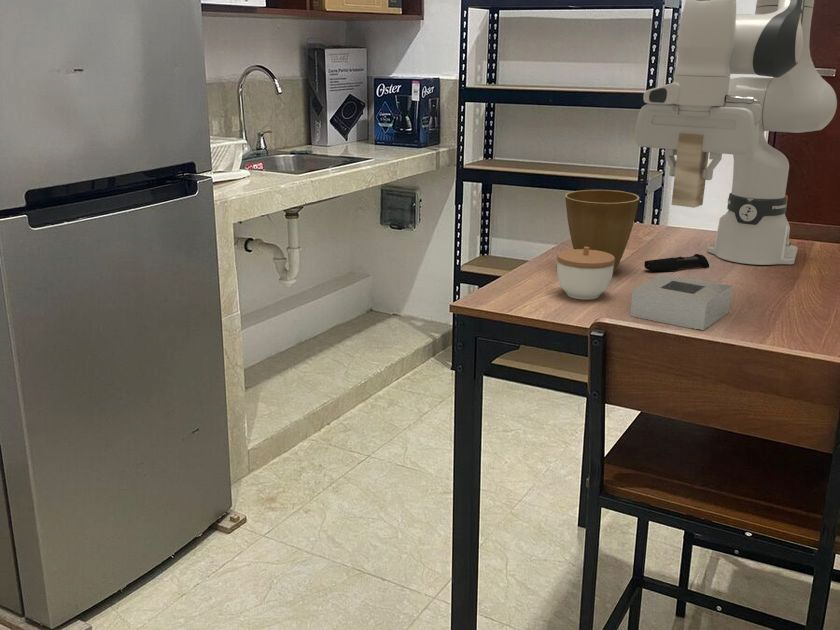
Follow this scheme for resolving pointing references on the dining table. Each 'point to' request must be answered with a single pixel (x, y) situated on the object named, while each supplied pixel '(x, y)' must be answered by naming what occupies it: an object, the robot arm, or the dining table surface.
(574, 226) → the plant pot
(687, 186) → the ash peg
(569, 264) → the lidded jar
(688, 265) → the electric trimmer
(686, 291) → the socket block
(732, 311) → the dining table surface
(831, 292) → the dining table surface
